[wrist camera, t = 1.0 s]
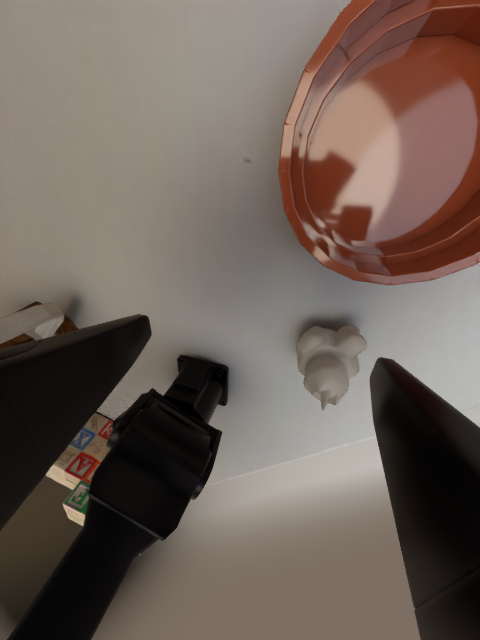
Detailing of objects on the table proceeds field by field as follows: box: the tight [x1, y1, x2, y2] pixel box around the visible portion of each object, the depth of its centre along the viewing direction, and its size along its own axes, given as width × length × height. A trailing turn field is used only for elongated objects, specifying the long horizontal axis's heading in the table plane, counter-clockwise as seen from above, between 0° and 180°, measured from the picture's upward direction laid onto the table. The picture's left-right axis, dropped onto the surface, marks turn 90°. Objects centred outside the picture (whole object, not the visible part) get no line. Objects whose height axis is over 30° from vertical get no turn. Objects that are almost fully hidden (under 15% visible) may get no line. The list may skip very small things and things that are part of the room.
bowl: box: [278, 0, 480, 285], centre depth 13 cm, size 13×13×5 cm
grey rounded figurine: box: [297, 325, 367, 411], centre depth 19 cm, size 5×7×8 cm
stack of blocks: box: [46, 413, 113, 526], centre depth 38 cm, size 21×6×12 cm, turn 72°
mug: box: [0, 301, 78, 349], centre depth 27 cm, size 20×14×15 cm
